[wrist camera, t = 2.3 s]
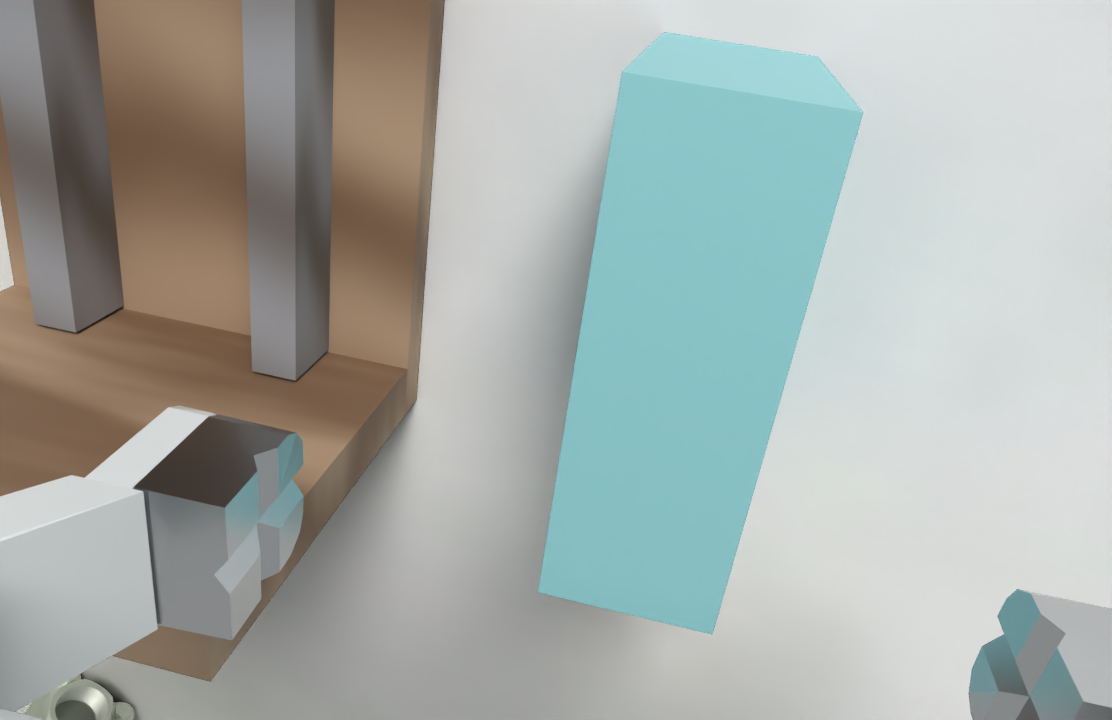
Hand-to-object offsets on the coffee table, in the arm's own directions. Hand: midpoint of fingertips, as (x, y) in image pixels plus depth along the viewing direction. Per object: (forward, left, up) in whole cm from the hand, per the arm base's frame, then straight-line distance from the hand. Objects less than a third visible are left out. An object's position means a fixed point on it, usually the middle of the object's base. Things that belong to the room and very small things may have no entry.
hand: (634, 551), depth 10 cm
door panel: (-1, 0, -13) cm, 13 cm away
